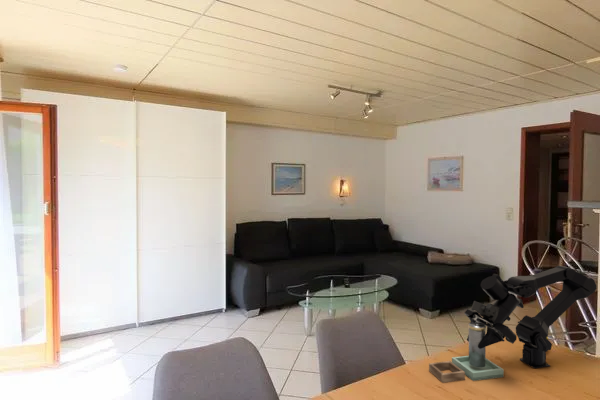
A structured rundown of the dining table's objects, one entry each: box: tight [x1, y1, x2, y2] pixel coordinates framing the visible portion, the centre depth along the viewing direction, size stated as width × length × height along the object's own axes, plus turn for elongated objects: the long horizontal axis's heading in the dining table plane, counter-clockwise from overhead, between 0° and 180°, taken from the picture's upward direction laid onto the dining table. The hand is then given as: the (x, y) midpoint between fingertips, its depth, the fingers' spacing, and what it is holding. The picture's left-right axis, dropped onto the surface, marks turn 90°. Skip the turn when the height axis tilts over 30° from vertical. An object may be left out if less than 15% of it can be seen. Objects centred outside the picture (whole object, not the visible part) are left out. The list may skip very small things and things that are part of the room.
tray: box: [451, 355, 505, 382], centre depth 120 cm, size 11×11×2 cm
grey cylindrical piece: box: [467, 321, 487, 367], centre depth 120 cm, size 5×5×13 cm
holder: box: [428, 360, 466, 384], centre depth 118 cm, size 8×8×2 cm
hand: (473, 344), depth 120 cm, fingers closed on grey cylindrical piece, 5 cm apart
